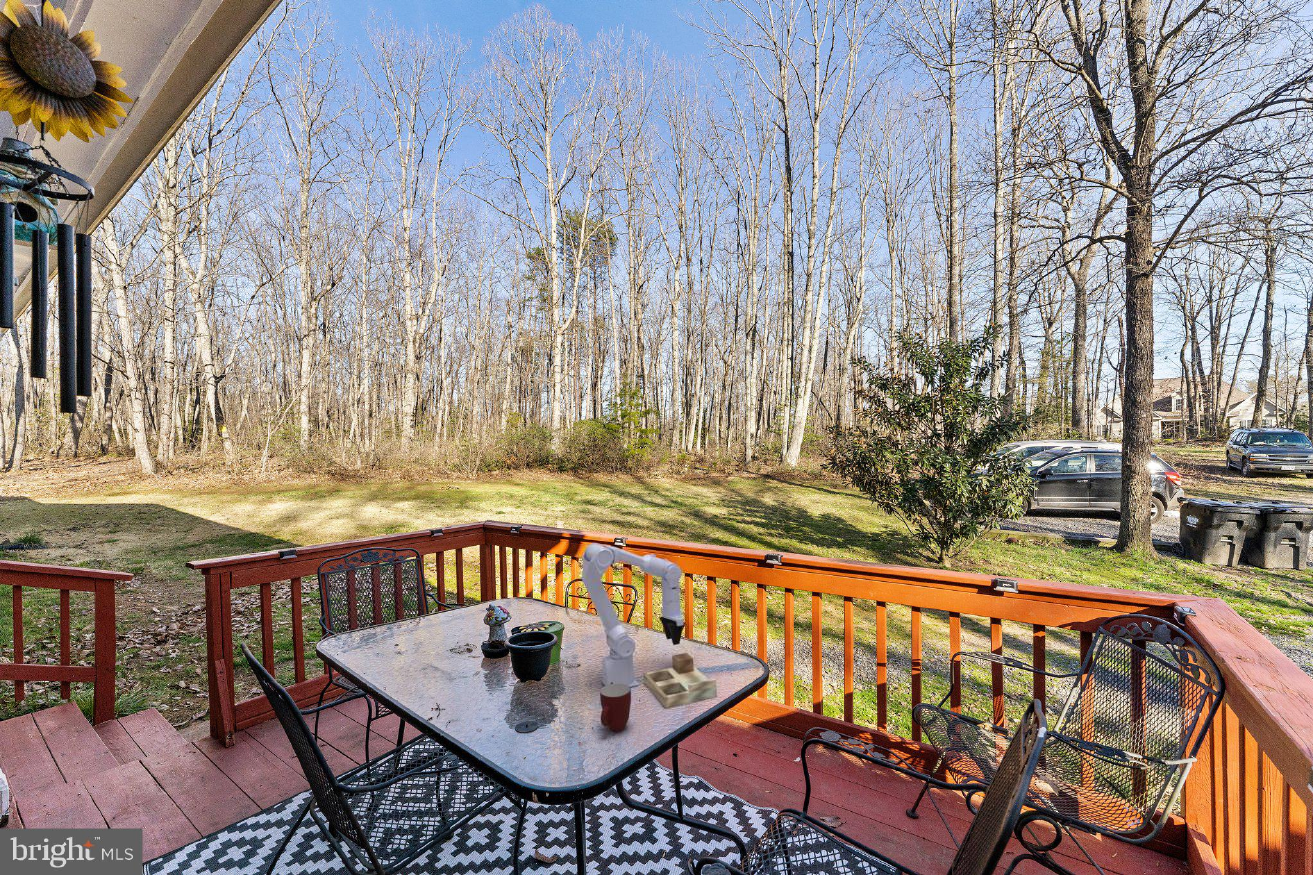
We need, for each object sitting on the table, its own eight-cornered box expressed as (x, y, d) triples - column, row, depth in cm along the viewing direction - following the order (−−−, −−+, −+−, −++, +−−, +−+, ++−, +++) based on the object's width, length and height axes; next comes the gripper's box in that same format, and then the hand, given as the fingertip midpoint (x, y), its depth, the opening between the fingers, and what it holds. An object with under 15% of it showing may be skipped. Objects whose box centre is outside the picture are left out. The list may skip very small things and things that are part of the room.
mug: (620, 743, 141) (618, 703, 141) (592, 738, 144) (590, 699, 144) (637, 722, 151) (635, 685, 151) (610, 718, 154) (608, 681, 154)
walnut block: (678, 674, 173) (678, 661, 173) (672, 668, 178) (672, 655, 178) (693, 671, 175) (693, 658, 175) (687, 665, 179) (686, 652, 179)
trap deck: (665, 708, 158) (664, 690, 158) (644, 683, 175) (643, 667, 175) (716, 696, 164) (716, 679, 164) (691, 673, 180) (690, 657, 180)
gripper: (691, 603, 178) (693, 646, 178) (673, 592, 191) (675, 632, 191) (670, 606, 175) (672, 650, 175) (654, 595, 189) (656, 635, 189)
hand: (673, 641), depth 183 cm, fingers open, 5 cm apart
